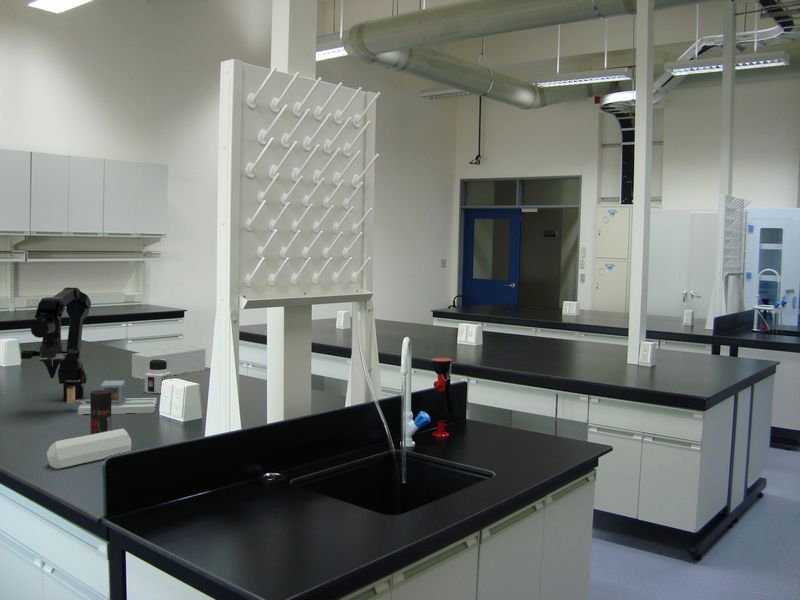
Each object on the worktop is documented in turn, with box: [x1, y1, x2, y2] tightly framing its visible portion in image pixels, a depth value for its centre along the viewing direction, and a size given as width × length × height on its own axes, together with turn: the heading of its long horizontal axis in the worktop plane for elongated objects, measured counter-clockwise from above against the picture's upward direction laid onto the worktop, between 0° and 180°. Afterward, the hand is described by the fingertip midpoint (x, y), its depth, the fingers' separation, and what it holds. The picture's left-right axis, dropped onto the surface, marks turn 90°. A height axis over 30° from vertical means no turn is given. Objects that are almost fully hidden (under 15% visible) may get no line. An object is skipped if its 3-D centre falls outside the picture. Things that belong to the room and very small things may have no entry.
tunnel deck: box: [77, 379, 158, 416], centre depth 261 cm, size 25×14×10 cm, turn 105°
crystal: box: [46, 428, 132, 469], centre depth 204 cm, size 7×7×24 cm
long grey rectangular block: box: [131, 346, 206, 380], centre depth 328 cm, size 32×11×11 cm, turn 146°
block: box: [105, 388, 119, 401], centre depth 260 cm, size 4×4×4 cm
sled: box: [66, 386, 127, 404], centre depth 259 cm, size 19×5×5 cm, turn 105°
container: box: [144, 359, 172, 395], centre depth 291 cm, size 8×8×13 cm
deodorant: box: [89, 389, 112, 435], centre depth 222 cm, size 6×6×15 cm
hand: (52, 377), depth 254 cm, fingers closed
